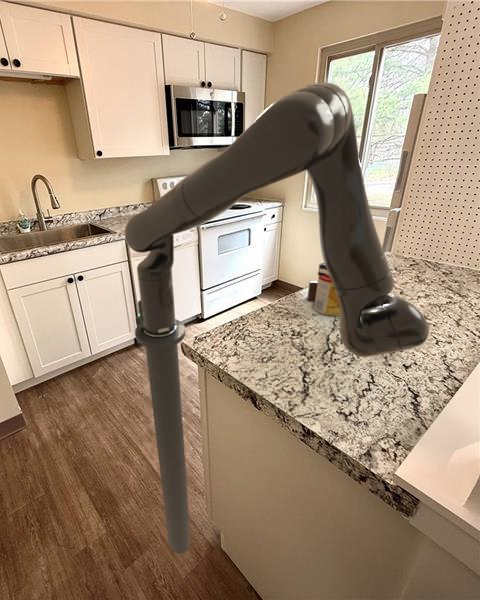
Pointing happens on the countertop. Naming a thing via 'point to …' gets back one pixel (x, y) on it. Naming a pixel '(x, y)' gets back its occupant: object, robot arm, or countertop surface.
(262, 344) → the countertop surface
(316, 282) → the brown rectangular block
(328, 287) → the canned food
